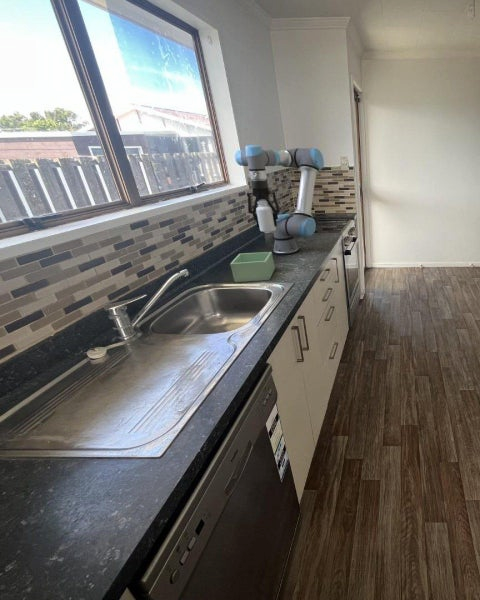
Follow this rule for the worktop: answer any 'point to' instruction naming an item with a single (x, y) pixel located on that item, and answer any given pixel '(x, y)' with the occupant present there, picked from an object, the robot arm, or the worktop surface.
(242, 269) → the bin
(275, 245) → the robot arm
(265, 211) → the pill bottle
